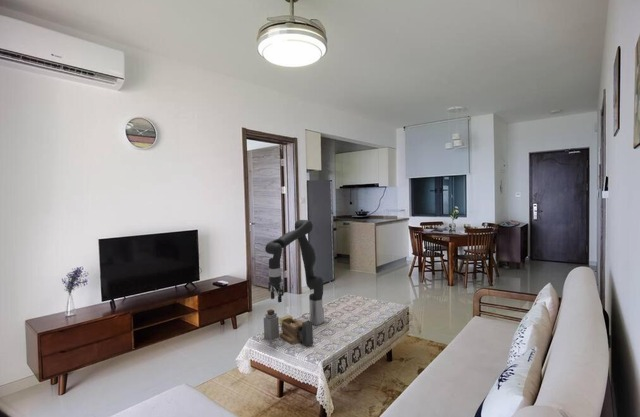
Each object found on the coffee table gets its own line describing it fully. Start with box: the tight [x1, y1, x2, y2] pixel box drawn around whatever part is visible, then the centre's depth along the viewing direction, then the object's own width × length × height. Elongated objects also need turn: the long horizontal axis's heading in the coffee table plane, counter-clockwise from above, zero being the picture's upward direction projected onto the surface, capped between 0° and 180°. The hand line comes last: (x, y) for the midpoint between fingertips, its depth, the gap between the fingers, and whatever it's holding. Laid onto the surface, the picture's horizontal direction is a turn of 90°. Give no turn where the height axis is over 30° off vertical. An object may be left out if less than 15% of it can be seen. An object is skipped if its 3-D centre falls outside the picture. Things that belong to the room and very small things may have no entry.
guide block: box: [279, 318, 304, 345], centre depth 226 cm, size 14×14×10 cm
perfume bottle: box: [263, 308, 280, 342], centre depth 227 cm, size 7×7×18 cm
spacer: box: [279, 315, 294, 326], centre depth 233 cm, size 8×4×4 cm, turn 129°
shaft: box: [280, 320, 314, 347], centre depth 225 cm, size 5×28×14 cm, turn 39°
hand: (276, 300), depth 219 cm, fingers open, 8 cm apart
